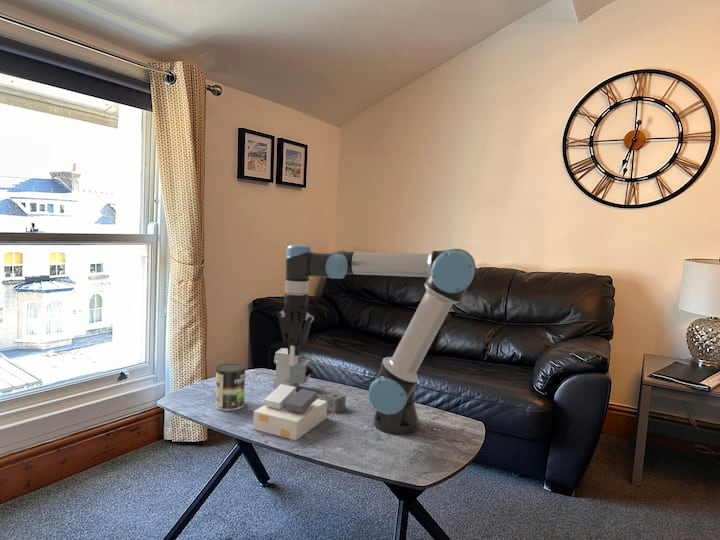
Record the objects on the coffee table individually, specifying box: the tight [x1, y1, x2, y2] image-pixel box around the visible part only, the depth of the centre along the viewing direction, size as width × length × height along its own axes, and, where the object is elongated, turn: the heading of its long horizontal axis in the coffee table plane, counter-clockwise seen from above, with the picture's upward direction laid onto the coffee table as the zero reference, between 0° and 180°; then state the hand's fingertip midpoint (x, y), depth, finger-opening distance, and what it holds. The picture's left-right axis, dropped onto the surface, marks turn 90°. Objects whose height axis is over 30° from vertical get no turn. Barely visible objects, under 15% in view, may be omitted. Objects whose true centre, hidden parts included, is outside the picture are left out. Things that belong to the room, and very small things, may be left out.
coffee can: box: [214, 362, 246, 412], centre depth 176 cm, size 10×10×14 cm
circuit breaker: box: [272, 347, 314, 390], centre depth 197 cm, size 8×14×15 cm, turn 78°
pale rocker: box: [263, 384, 297, 410], centre depth 164 cm, size 6×10×2 cm, turn 156°
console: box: [252, 398, 328, 441], centre depth 164 cm, size 16×20×7 cm
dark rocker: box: [285, 388, 318, 413], centre depth 161 cm, size 6×10×2 cm, turn 156°
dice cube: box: [325, 391, 347, 413], centre depth 179 cm, size 5×5×5 cm
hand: (293, 364), depth 161 cm, fingers closed
